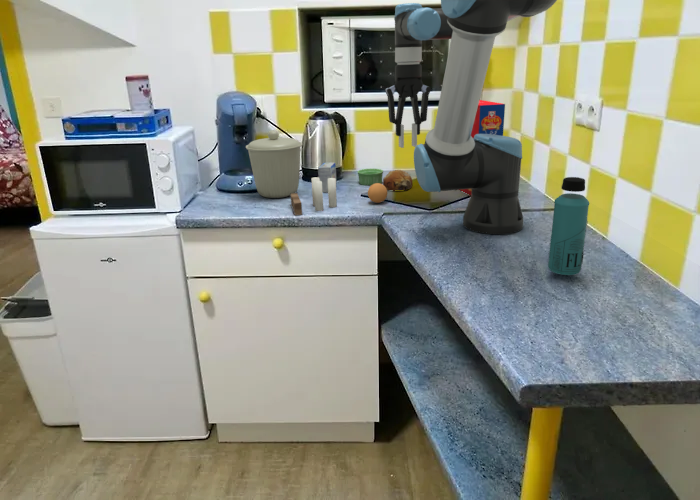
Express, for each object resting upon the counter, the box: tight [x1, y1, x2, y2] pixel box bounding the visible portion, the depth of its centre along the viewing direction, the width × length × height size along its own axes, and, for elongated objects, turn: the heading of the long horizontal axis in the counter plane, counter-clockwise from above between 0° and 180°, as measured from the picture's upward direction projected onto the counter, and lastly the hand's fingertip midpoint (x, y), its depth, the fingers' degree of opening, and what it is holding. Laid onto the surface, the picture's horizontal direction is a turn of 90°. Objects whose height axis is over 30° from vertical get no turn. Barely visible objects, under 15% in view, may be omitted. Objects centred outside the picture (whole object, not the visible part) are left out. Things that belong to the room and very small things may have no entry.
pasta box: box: [460, 99, 506, 196], centre depth 172 cm, size 28×8×28 cm, turn 14°
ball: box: [367, 183, 388, 204], centre depth 162 cm, size 6×6×6 cm
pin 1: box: [310, 176, 320, 207], centre depth 160 cm, size 2×2×8 cm
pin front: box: [327, 177, 338, 209], centre depth 159 cm, size 2×2×8 cm
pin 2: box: [314, 181, 324, 212], centre depth 156 cm, size 2×2×8 cm
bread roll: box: [382, 169, 413, 192], centre depth 179 cm, size 10×10×8 cm
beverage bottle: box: [547, 176, 590, 276], centre depth 103 cm, size 6×7×20 cm
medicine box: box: [317, 161, 338, 193], centre depth 178 cm, size 8×4×9 cm, turn 170°
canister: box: [245, 129, 303, 199], centre depth 172 cm, size 18×18×21 cm
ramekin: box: [357, 168, 384, 187], centre depth 187 cm, size 9×9×4 cm
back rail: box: [290, 192, 303, 216], centre depth 158 cm, size 12×2×4 cm, turn 11°
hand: (407, 146), depth 159 cm, fingers open, 3 cm apart
